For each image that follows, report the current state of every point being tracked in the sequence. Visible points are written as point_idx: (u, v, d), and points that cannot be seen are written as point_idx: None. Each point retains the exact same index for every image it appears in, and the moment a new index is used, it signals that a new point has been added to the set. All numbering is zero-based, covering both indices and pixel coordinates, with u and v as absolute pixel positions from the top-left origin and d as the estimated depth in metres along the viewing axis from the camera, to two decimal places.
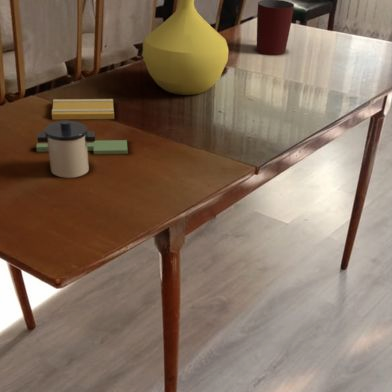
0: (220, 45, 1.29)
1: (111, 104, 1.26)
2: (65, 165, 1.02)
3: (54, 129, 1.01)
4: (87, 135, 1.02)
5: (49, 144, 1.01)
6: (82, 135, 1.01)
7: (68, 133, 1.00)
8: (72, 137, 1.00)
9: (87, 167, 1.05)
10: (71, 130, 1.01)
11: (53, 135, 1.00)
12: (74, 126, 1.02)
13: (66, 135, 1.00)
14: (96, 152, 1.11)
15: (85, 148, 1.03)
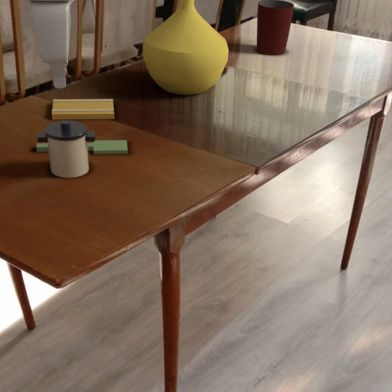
0: (220, 45, 1.29)
1: (111, 104, 1.26)
2: (65, 165, 1.02)
3: (54, 129, 1.01)
4: (87, 135, 1.02)
5: (49, 144, 1.01)
6: (82, 135, 1.01)
7: (68, 133, 1.00)
8: (72, 137, 1.00)
9: (87, 167, 1.05)
10: (71, 130, 1.01)
11: (53, 135, 1.00)
12: (74, 126, 1.02)
13: (66, 135, 1.00)
14: (96, 152, 1.11)
15: (85, 148, 1.03)
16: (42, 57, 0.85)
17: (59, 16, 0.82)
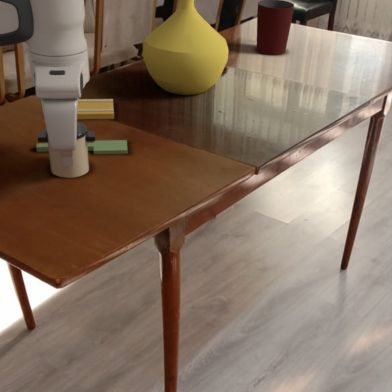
0: (220, 45, 1.29)
1: (111, 104, 1.26)
2: None
3: None
4: (87, 135, 1.02)
5: None
6: (82, 135, 1.01)
7: None
8: None
9: (87, 167, 1.05)
10: None
11: None
12: None
13: None
14: (96, 152, 1.11)
15: (85, 148, 1.03)
16: (52, 147, 0.93)
17: (68, 112, 0.91)
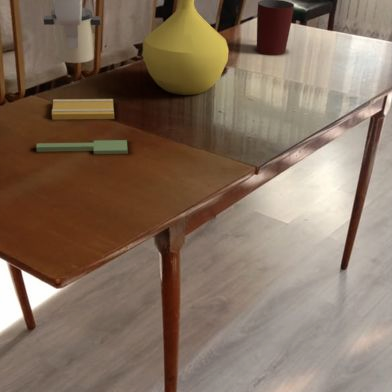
0: (220, 45, 1.29)
1: (111, 104, 1.26)
2: (70, 49, 1.04)
3: None
4: (92, 19, 1.04)
5: (55, 26, 1.03)
6: (87, 17, 1.03)
7: None
8: None
9: (92, 53, 1.07)
10: None
11: None
12: None
13: None
14: (96, 152, 1.11)
15: (90, 32, 1.05)
16: (58, 19, 0.95)
17: None
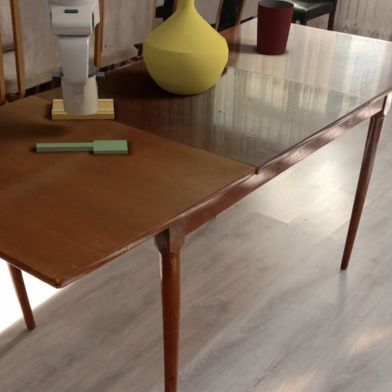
0: (220, 45, 1.29)
1: (111, 104, 1.26)
2: (77, 103, 1.12)
3: None
4: (97, 75, 1.12)
5: (63, 83, 1.11)
6: (93, 74, 1.10)
7: None
8: None
9: (97, 106, 1.14)
10: None
11: None
12: None
13: None
14: (96, 152, 1.11)
15: (95, 87, 1.12)
16: (66, 80, 1.03)
17: (81, 48, 1.00)
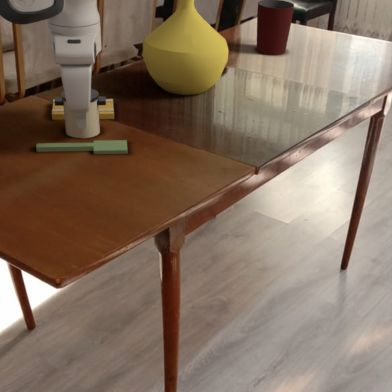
0: (220, 45, 1.29)
1: (111, 104, 1.26)
2: None
3: None
4: (99, 99, 1.14)
5: (65, 107, 1.13)
6: (94, 99, 1.13)
7: None
8: None
9: (98, 129, 1.17)
10: None
11: None
12: None
13: None
14: (96, 152, 1.11)
15: (97, 111, 1.15)
16: (69, 108, 1.06)
17: (83, 77, 1.03)
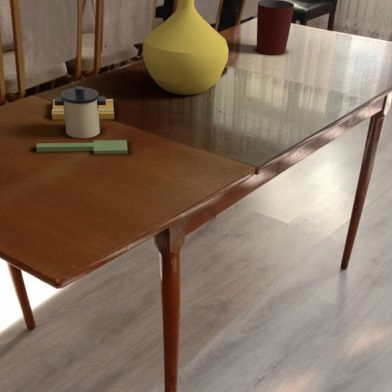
0: (220, 45, 1.29)
1: (111, 104, 1.26)
2: (79, 127, 1.15)
3: (70, 94, 1.14)
4: (99, 99, 1.14)
5: (65, 107, 1.13)
6: (94, 99, 1.13)
7: (82, 97, 1.12)
8: (86, 100, 1.12)
9: (98, 129, 1.17)
10: (84, 95, 1.13)
11: (69, 99, 1.12)
12: (87, 92, 1.15)
13: (80, 99, 1.12)
14: (96, 152, 1.11)
15: (97, 111, 1.15)
16: None
17: None
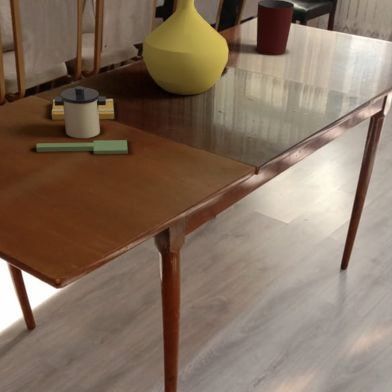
0: (220, 45, 1.29)
1: (111, 104, 1.26)
2: (79, 127, 1.15)
3: (70, 94, 1.14)
4: (99, 99, 1.14)
5: (65, 107, 1.13)
6: (94, 99, 1.13)
7: (82, 97, 1.12)
8: (86, 100, 1.12)
9: (98, 129, 1.17)
10: (84, 95, 1.13)
11: (69, 99, 1.12)
12: (87, 92, 1.15)
13: (80, 99, 1.12)
14: (96, 152, 1.11)
15: (97, 111, 1.15)
16: None
17: None
